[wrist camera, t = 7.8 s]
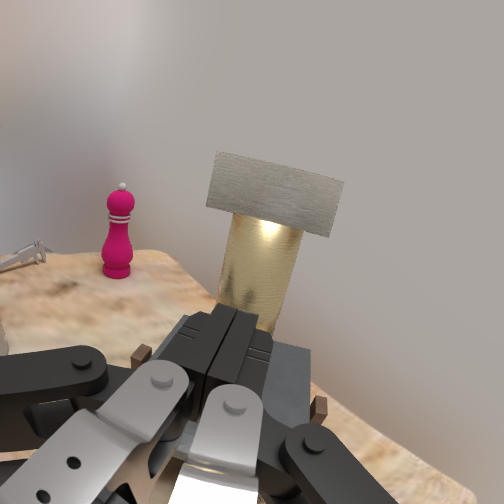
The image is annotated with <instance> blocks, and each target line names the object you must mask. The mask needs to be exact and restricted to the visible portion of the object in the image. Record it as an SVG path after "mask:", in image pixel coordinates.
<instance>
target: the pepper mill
mask: <svg viewBox="0 0 504 504" xmlns="http://www.w3.org/2000/svg"><path fill="white" fill-rule="evenodd" d="M118 189H119V190H117V191H114V192H112V193H111V194H110V195H109V197H108V199H107V207H108V209H109V211H110V212H109V214H108V216H109V217H108V220H109V221H110V229H109V233H108V237H107V239H106V241H105V243H104V245H103V248H102V254H101V255H102V259H103V261H104V262H105V263H104V266H103V271H104V274H105V275H106V276H107V277H110V278H114V279H120V278H125V277H127V276H128V275H129V274H130V265H129V263H130V262H131V260H132V258H133V250H132V246H131V244H130V241H129V237H128V222H130V217H131V215H130V212H131V210H133V208H134V204H135V203H134V202H135V201H134V197H133V195H132V194H131V193H129V192H128V191H125V190H126V184H125V183H121V184H119V186H118Z"/></svg>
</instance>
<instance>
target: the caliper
mask: <svg viewBox="0 0 504 504" xmlns="http://www.w3.org/2000/svg"><path fill="white" fill-rule="evenodd" d="M34 243H35V246H34V245H32V246H29V247H27V248H25V249H23V250H21V251H19V252H18V254H16V255H14V256H12V257H10V258H7V259H5V260H3V261H1V262H0V270H2V269H4V268H6V267H8V266H10V265H12V264H15V263H17V262H19V261H21V263H24V262H25V261H28V260H29V259H30V258H31V257H33V258H34V260H35V261H36V262H37V264H38V265H39V264H40V263H39V259H38V256H37V253H38V252H40V253H41V256H42V259H43V262H44V263H45V262H46V254H45V248H44V245H43V243H42V242H40V240H39V238H38V242H36V241H34Z"/></svg>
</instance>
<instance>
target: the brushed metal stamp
mask: <svg viewBox="0 0 504 504" xmlns="http://www.w3.org/2000/svg"><path fill="white" fill-rule="evenodd" d="M343 185H344V181H340V180H337V179H334V178H330V177H327V176H323V175H319V174H316V173H312V172H308V171H304V170H300V169H296V168H292V167H288V166H284V165H280V164H276V163H272V162H267V161H263V160H258V159H253V158H249V157H244V156H239V155H233V154H229V153H224V152H218V151H217V152H216V157H215V161H214V166H213V171H212V176H211V181H210V186H209V191H208V197H207V202H206V207H211V208H215V209H219V210H223V211H227V212H231V213H233V217H232V222H231V227H230V232H229V237H228V241H227V247H226V252H225V257H224V262H223V267H222V272H221V277H220V283H219V288H218V293H217V299H216V304H215V306H216V305H217V303H221V304H225V305H228V306H231V307H234V308H238V311H239V309H241V310H244V311H248V312H251V313H255V314H258V315H259V318H258V322H257V325H256V329H260V330H263V331H267V332H270V334H271V337H272V336H273V333H274V330H275V327H276V324H277V320H278V317H279V314H280V311H281V308H282V304H283V301H284V298H285V295H286V291H287V288H288V285H289V281H290V278H291V274H292V271H293V268H294V264H295V261H296V257H297V253H298V250H299V246H300V243H301V239H302V236H303V232H304V231H306V232H310V233H313V234H317V235H320V236H324V237H328V238H329V235H330V232H331V229H332V225H333V222H334V218H335V215H336V211H337V207H338V203H339V200H340V196H341V192H342V189H343ZM208 314H211V313H208ZM188 317H189V316H188V315H185V314H184V316H183V317H182V318H181V319H180V321H179V322H178V323H177V324H176V326H175V327H174V328H173V330H172V331H171V332H170V333H169V335H168V336H167V337H166V339H165V340H164V341H163V342H162V344H161V345H160V346H159V348H158V349H157V350H156V351H155V353H154V354H153V355H152V357H151V358H150V359H149V361H152V360H156V359H157V358H158V357H159V355H160V354H161V353H162V351H163V350H164V349H165V347H166V346H167V345H168V344H169V342H170V341H171V340H172V338H173V337H174V336H175V334H177V332H178V330H179V329H180V328H181V327H182V326H183V324H184V323H185V321H186V320H187V319H188ZM273 342H274V344H273V349H272V353H271V358H270V362H269V366H268V371H267V375H266V380H265V384H264V388H263V392H262V404H263V406H264V408H265V410H266V411H267V413H268V414H269V415H270V416H271V417H273V418H274V419H275V420H277V421H279V422H281V423H282V424H284V425H286V426H288V427H290V428H294V427H295V426H297V425H300V424H305V423H309V419H310V350H309V349H305V348H301V347H297V346H293V345H288V344H284V343H280V342H276V341H273ZM199 419H200V417H199ZM199 419H198V421H197V423H195V422H193V421H190V420H188V422H187V424H186V426H185V428H184V435H183V439H182V441H181V443H180V444H179V446H178V448H177V449H176V451H175V452H174V454H173V456H172V457H175V458H178V459H180V460H183V461H185V460H186V459H187V457H188V454H189V452H190V449H191V446H192V443H193V440H194V437H195V434H196V431H197V428H198V425H199Z"/></svg>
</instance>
